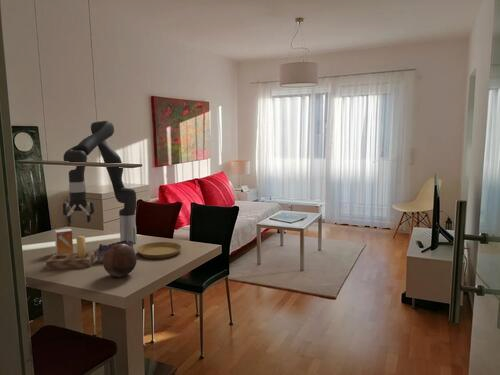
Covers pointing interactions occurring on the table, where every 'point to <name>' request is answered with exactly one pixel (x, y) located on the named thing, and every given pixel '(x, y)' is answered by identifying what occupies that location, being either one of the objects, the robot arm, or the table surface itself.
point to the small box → (64, 241)
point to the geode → (103, 248)
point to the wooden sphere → (119, 260)
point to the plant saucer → (159, 249)
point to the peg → (81, 247)
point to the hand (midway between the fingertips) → (79, 222)
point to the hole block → (69, 261)
